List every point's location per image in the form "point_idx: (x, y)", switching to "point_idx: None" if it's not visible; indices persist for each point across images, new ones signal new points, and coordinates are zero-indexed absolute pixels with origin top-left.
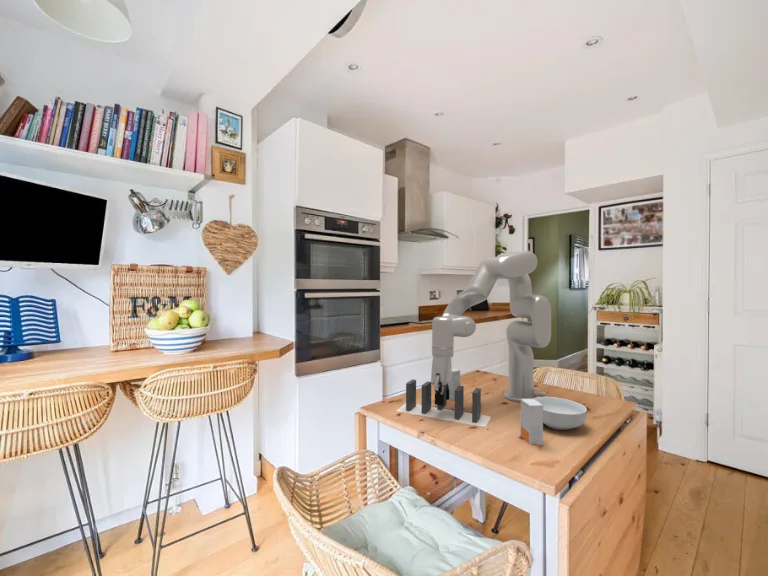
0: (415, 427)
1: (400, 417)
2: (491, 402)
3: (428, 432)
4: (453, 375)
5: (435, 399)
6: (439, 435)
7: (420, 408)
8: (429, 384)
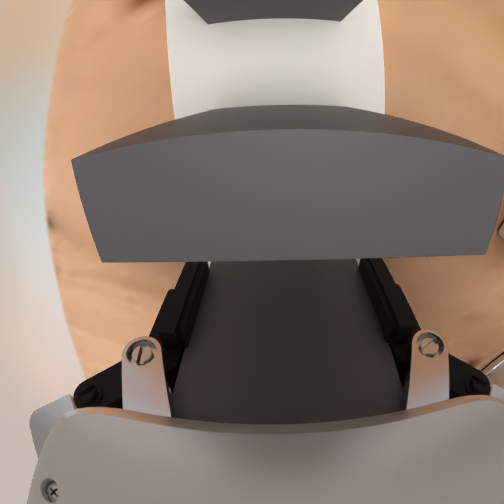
0: (58, 175)
1: (112, 30)
2: (480, 341)
3: (63, 243)
4: None
5: (179, 289)
6: (76, 284)
7: (309, 63)
8: (370, 240)
